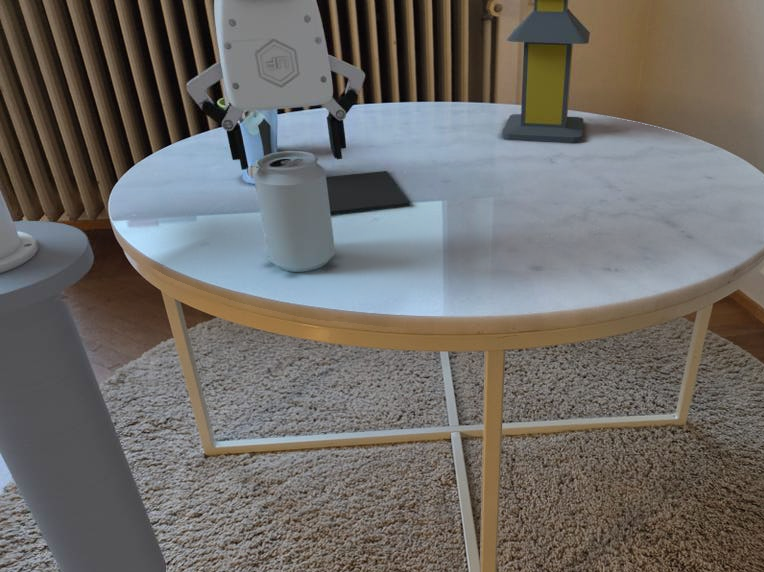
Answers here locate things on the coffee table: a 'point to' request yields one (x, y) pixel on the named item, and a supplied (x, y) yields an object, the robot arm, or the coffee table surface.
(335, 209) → the mat
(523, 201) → the coffee table surface
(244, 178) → the beer glass
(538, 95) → the lantern
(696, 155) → the coffee table surface
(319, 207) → the can
